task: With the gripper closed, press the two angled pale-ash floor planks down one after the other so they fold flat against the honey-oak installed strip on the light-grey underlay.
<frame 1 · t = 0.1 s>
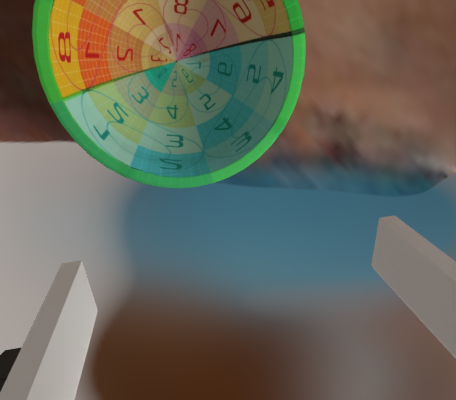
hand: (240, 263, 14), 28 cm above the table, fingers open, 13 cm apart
bowl: (176, 60, 36), on the table
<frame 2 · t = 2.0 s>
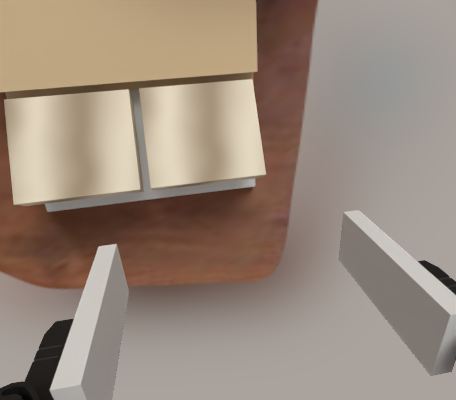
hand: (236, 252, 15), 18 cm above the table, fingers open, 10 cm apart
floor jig: (140, 108, 29), on the table
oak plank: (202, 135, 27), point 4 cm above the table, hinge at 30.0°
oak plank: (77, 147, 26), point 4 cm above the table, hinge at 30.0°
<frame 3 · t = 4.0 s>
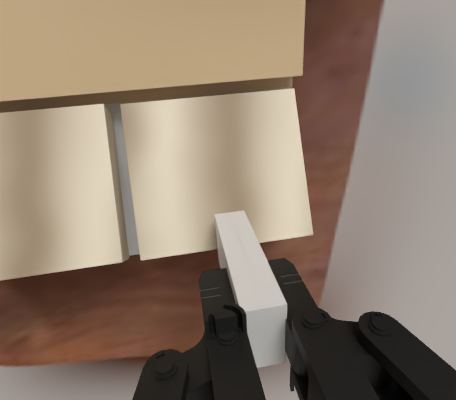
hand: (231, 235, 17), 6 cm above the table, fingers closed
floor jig: (124, 129, 20), on the table
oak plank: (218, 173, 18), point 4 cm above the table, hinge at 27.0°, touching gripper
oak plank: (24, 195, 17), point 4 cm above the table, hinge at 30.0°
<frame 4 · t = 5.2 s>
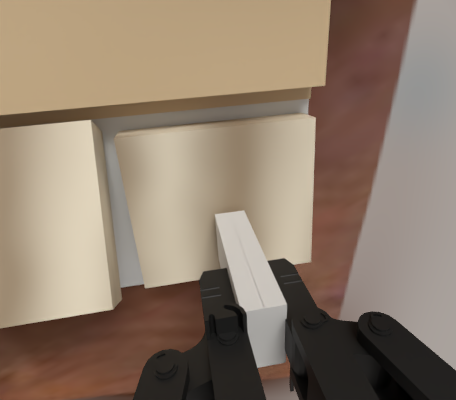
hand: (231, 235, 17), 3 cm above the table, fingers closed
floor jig: (117, 146, 17), on the table
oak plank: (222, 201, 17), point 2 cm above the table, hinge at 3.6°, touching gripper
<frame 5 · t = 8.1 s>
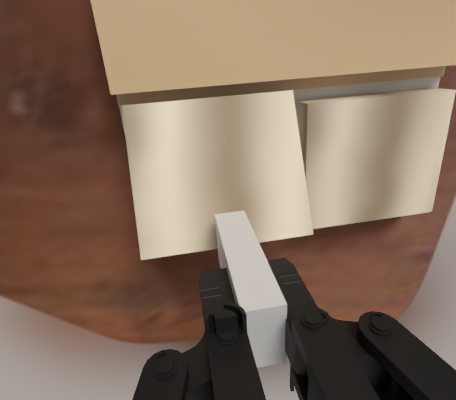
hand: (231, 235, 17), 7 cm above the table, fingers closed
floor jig: (284, 115, 21), on the table
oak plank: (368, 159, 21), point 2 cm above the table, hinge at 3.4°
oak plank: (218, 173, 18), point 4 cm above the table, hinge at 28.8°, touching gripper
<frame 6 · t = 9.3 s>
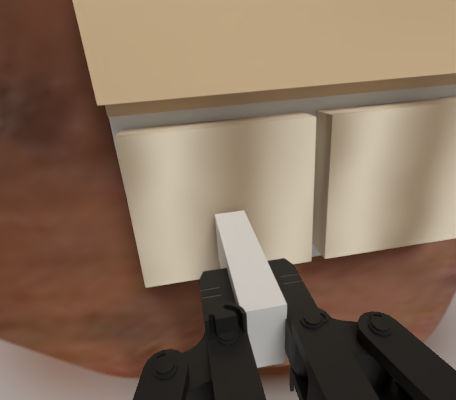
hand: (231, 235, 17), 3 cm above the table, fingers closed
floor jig: (302, 126, 18), on the table
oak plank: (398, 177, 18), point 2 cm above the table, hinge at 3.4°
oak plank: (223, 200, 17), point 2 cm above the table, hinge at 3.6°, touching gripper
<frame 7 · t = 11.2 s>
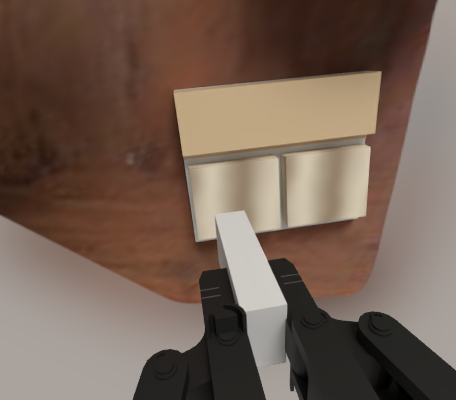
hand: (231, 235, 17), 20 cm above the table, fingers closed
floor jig: (275, 160, 36), on the table
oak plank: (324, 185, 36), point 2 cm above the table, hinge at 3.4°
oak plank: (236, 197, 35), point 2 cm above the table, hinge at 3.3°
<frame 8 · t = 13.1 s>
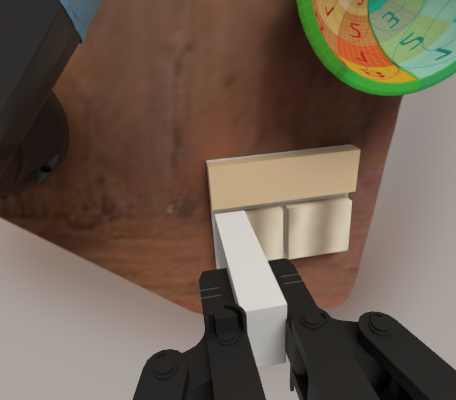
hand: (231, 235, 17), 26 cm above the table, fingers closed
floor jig: (279, 208, 47), on the table
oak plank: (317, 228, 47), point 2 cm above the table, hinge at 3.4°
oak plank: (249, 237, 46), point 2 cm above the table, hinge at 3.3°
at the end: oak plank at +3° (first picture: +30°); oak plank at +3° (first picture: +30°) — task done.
